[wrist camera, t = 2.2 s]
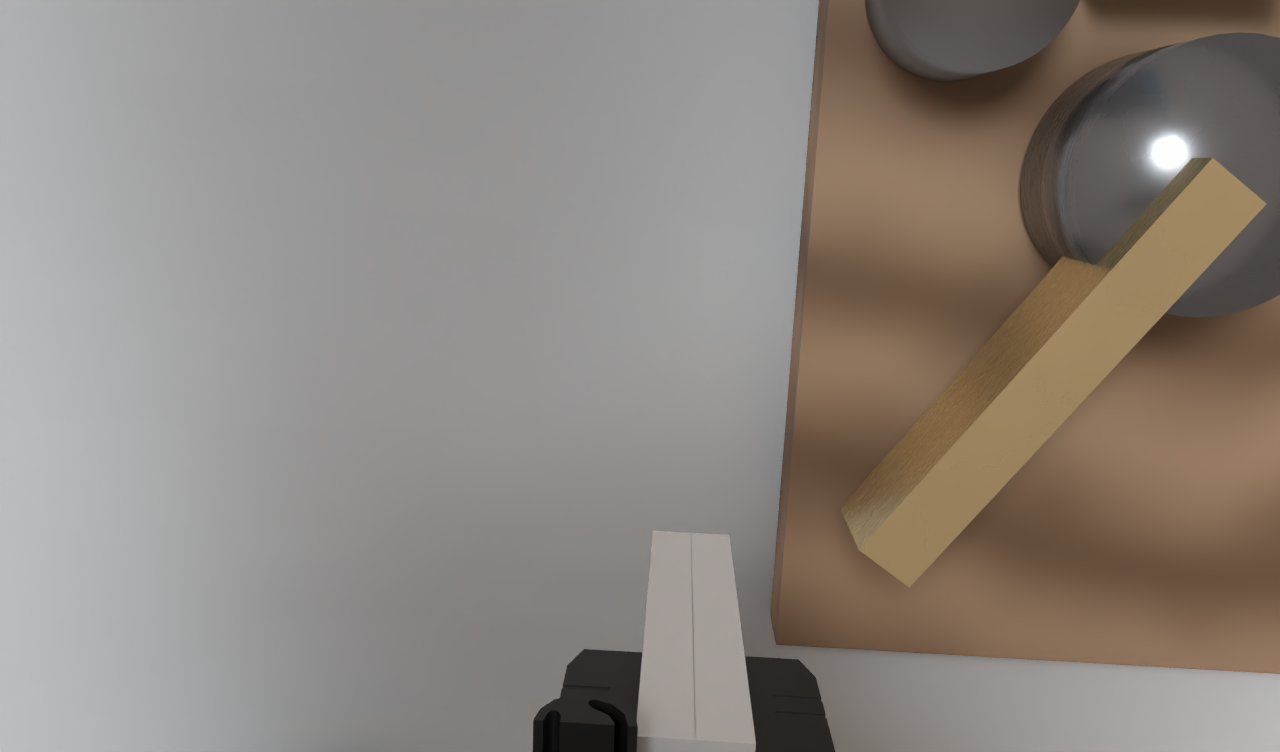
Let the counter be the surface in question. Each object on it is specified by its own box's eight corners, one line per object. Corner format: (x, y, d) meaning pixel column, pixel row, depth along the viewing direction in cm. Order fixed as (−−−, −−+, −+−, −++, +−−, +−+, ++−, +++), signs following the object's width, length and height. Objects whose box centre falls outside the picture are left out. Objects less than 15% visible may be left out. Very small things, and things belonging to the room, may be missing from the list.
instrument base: (827, -109, 27) (860, -169, 22) (1480, -92, 26) (1662, -149, 21) (770, 615, 33) (785, 695, 28) (1305, 645, 32) (1417, 733, 27)
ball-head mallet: (1141, -2, 25) (1243, -38, 20) (1320, 153, 26) (1456, 151, 21) (768, 440, 29) (784, 494, 24) (934, 566, 29) (981, 641, 25)
